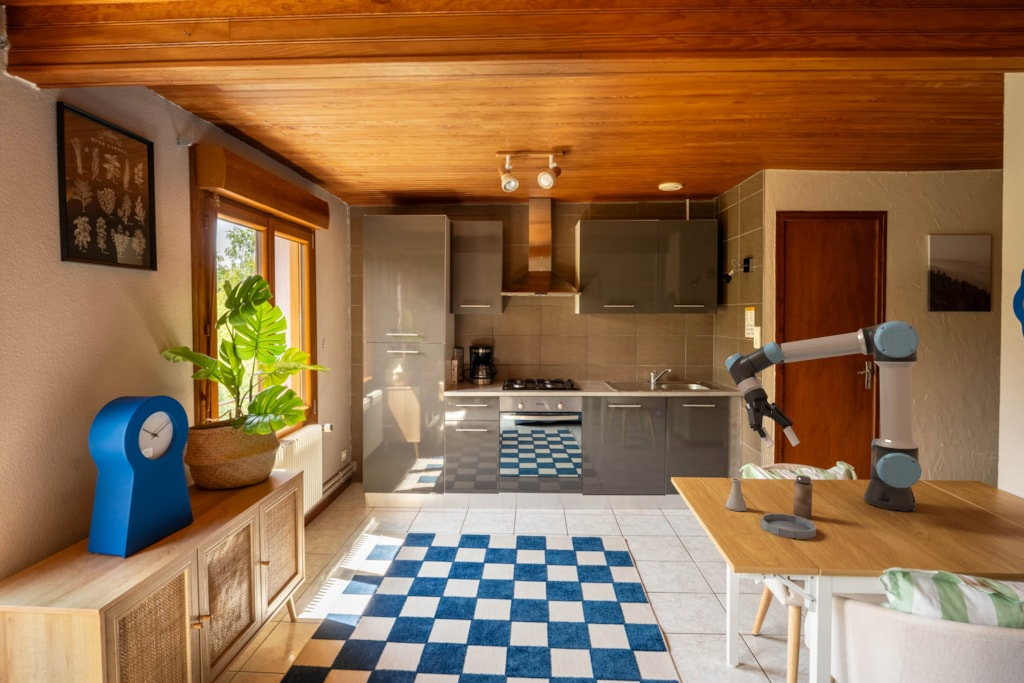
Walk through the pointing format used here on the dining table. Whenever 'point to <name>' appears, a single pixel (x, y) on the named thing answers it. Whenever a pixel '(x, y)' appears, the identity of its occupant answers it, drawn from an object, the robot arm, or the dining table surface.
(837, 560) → the dining table surface
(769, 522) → the round grey tray
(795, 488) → the pepper mill
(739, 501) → the flask
